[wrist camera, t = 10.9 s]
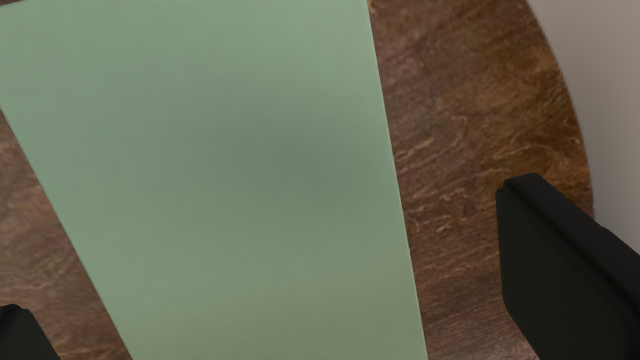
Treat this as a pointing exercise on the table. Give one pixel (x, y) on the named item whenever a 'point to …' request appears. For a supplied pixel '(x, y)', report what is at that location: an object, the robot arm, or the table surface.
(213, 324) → the sage green foam block
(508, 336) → the table surface
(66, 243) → the table surface
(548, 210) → the robot arm
